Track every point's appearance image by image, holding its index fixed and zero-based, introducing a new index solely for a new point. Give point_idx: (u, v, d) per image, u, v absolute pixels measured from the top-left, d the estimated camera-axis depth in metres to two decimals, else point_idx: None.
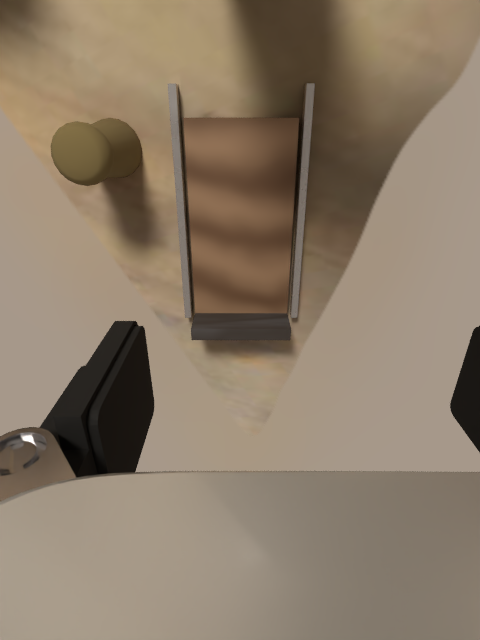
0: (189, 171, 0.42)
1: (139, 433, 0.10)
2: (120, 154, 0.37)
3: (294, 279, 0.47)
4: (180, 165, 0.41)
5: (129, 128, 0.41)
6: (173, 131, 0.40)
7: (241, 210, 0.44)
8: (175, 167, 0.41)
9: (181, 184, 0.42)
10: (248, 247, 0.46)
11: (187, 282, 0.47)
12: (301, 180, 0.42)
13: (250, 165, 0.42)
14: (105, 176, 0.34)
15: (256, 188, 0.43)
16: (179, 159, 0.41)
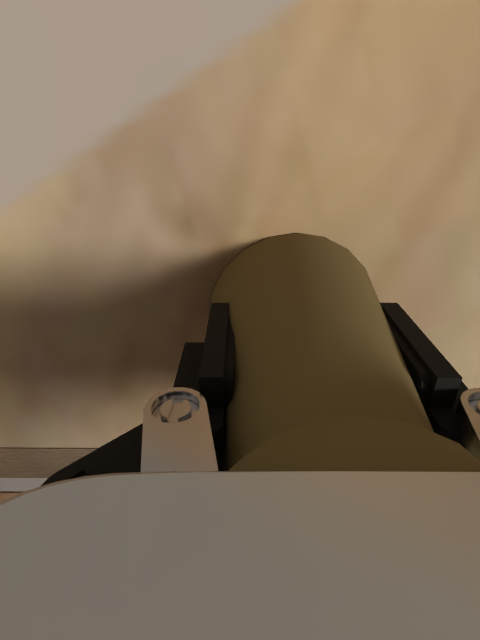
0: None
1: None
2: None
3: None
4: None
5: None
6: None
7: None
8: None
9: None
10: None
11: None
12: None
13: None
14: None
15: None
16: None
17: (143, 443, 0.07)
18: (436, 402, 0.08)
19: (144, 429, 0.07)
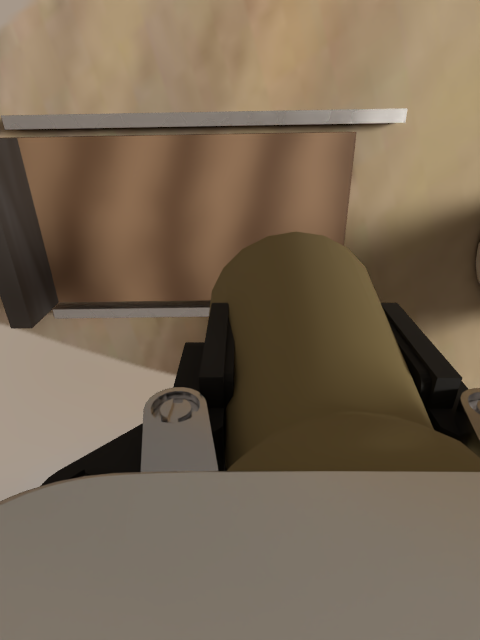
0: (277, 138, 0.25)
1: None
2: None
3: (118, 309, 0.31)
4: (287, 123, 0.25)
5: None
6: (339, 113, 0.24)
7: (217, 225, 0.28)
8: (285, 113, 0.24)
9: (257, 123, 0.25)
10: (159, 238, 0.28)
11: (78, 125, 0.25)
12: None
13: None
14: None
15: None
16: (297, 122, 0.25)
17: (143, 443, 0.07)
18: (436, 402, 0.08)
19: (144, 429, 0.07)
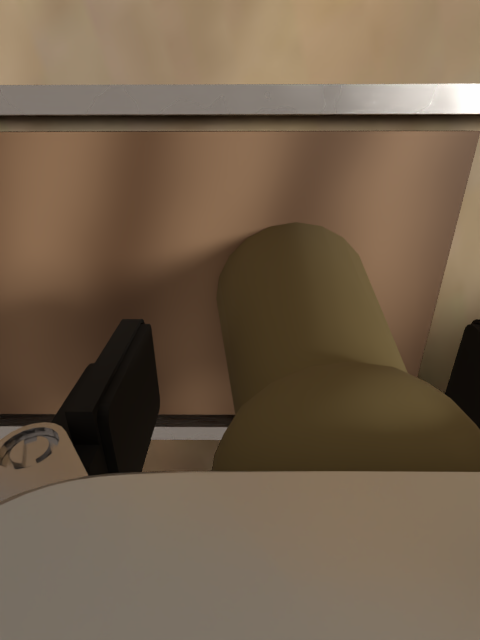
0: (320, 142, 0.13)
1: (146, 430, 0.10)
2: None
3: None
4: (344, 110, 0.12)
5: None
6: (454, 92, 0.12)
7: (202, 299, 0.15)
8: (341, 90, 0.12)
9: (283, 110, 0.12)
10: (98, 317, 0.16)
11: None
12: None
13: None
14: None
15: None
16: (364, 110, 0.12)
17: None
18: None
19: None
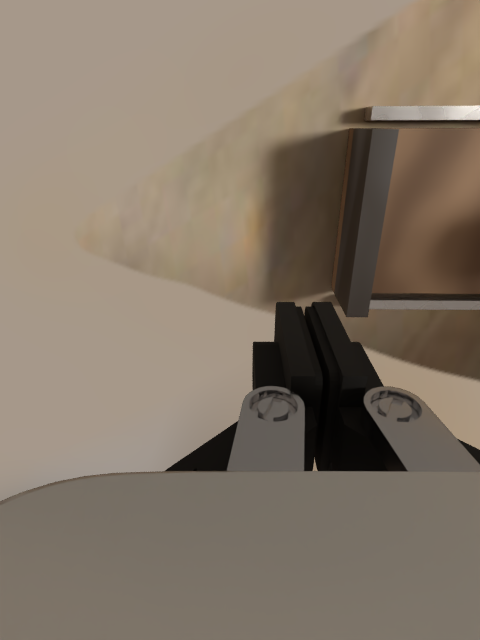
0: None
1: None
2: None
3: (411, 301, 0.31)
4: None
5: None
6: None
7: None
8: None
9: None
10: (479, 230, 0.29)
11: (446, 116, 0.25)
12: None
13: None
14: None
15: None
16: None
17: (236, 433, 0.07)
18: (345, 400, 0.08)
19: (240, 420, 0.07)
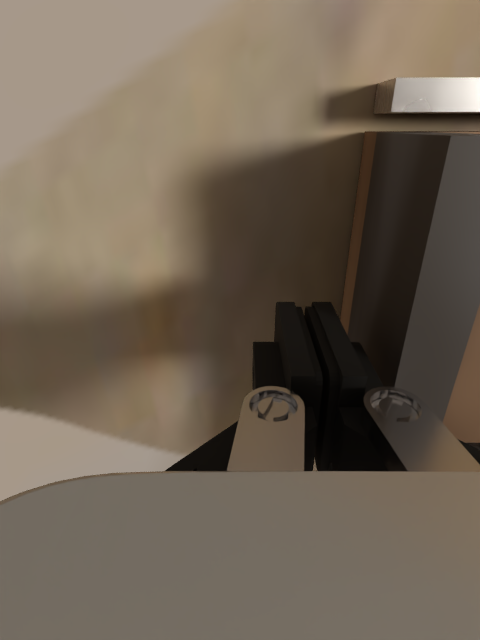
0: None
1: None
2: None
3: None
4: None
5: None
6: None
7: None
8: None
9: None
10: None
11: None
12: None
13: None
14: None
15: None
16: None
17: (237, 433, 0.07)
18: (345, 400, 0.08)
19: (240, 420, 0.07)
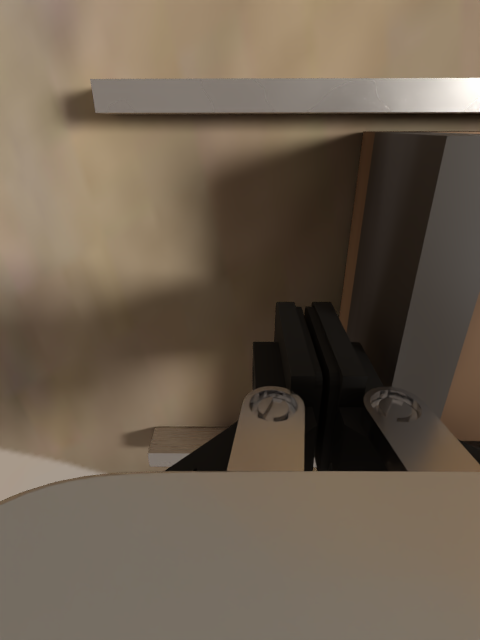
0: None
1: None
2: None
3: None
4: None
5: None
6: None
7: None
8: None
9: None
10: None
11: (270, 105, 0.11)
12: None
13: None
14: None
15: None
16: None
17: (237, 433, 0.07)
18: (345, 400, 0.08)
19: (240, 420, 0.07)
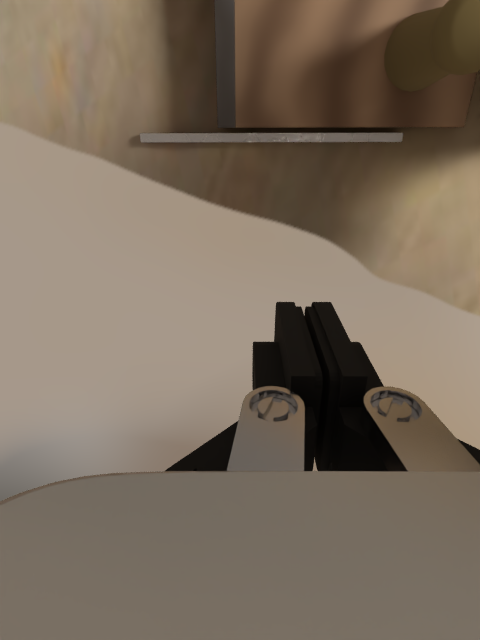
0: None
1: None
2: (438, 75, 0.31)
3: (193, 134, 0.38)
4: None
5: None
6: None
7: (378, 54, 0.35)
8: None
9: None
10: (329, 65, 0.35)
11: None
12: (310, 134, 0.38)
13: None
14: (441, 61, 0.27)
15: None
16: None
17: (237, 433, 0.07)
18: (345, 400, 0.08)
19: (240, 420, 0.07)
